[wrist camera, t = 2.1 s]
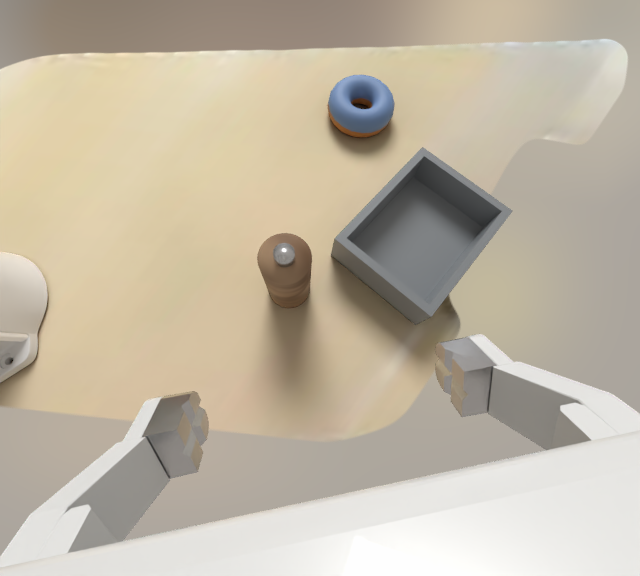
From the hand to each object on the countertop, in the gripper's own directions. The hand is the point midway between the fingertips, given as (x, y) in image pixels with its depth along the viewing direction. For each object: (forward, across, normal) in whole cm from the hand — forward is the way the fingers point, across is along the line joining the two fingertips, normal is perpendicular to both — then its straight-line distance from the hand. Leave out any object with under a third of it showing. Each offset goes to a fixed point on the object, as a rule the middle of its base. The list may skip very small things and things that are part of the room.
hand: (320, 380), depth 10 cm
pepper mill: (+28, +2, +8) cm, 29 cm away
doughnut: (+46, -13, -10) cm, 49 cm away
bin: (+31, -15, +6) cm, 35 cm away
